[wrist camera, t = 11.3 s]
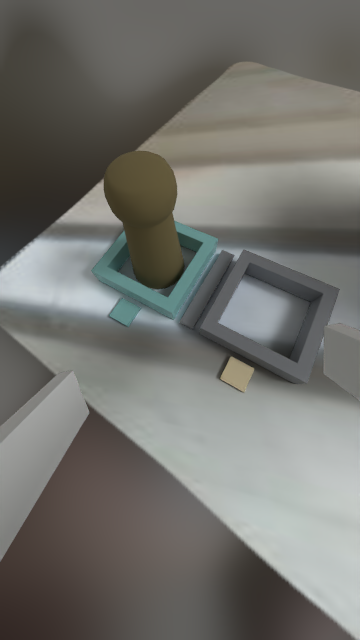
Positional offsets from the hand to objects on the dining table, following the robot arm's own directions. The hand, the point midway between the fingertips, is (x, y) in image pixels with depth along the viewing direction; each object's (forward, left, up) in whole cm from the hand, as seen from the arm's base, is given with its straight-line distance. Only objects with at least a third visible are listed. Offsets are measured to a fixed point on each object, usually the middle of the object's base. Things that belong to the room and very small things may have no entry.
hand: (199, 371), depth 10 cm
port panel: (-8, -3, -9) cm, 12 cm away
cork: (-9, -10, -9) cm, 16 cm away
